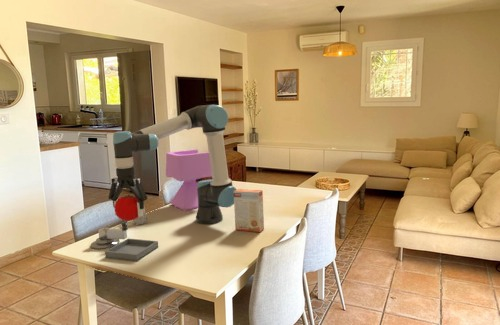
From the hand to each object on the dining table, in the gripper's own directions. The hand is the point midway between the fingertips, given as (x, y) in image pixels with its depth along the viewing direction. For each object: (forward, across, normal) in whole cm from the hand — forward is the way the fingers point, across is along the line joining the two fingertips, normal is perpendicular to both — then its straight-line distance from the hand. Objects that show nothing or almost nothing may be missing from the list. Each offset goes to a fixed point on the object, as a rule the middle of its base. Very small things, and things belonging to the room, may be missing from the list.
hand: (129, 215), depth 168 cm
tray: (+17, 0, 0) cm, 17 cm away
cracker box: (+18, -42, -41) cm, 61 cm away
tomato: (+2, 0, 0) cm, 2 cm away
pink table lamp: (+18, +12, -80) cm, 83 cm away
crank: (+14, +15, -7) cm, 22 cm away
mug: (+18, +25, -39) cm, 50 cm away
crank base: (+17, +20, -6) cm, 27 cm away
